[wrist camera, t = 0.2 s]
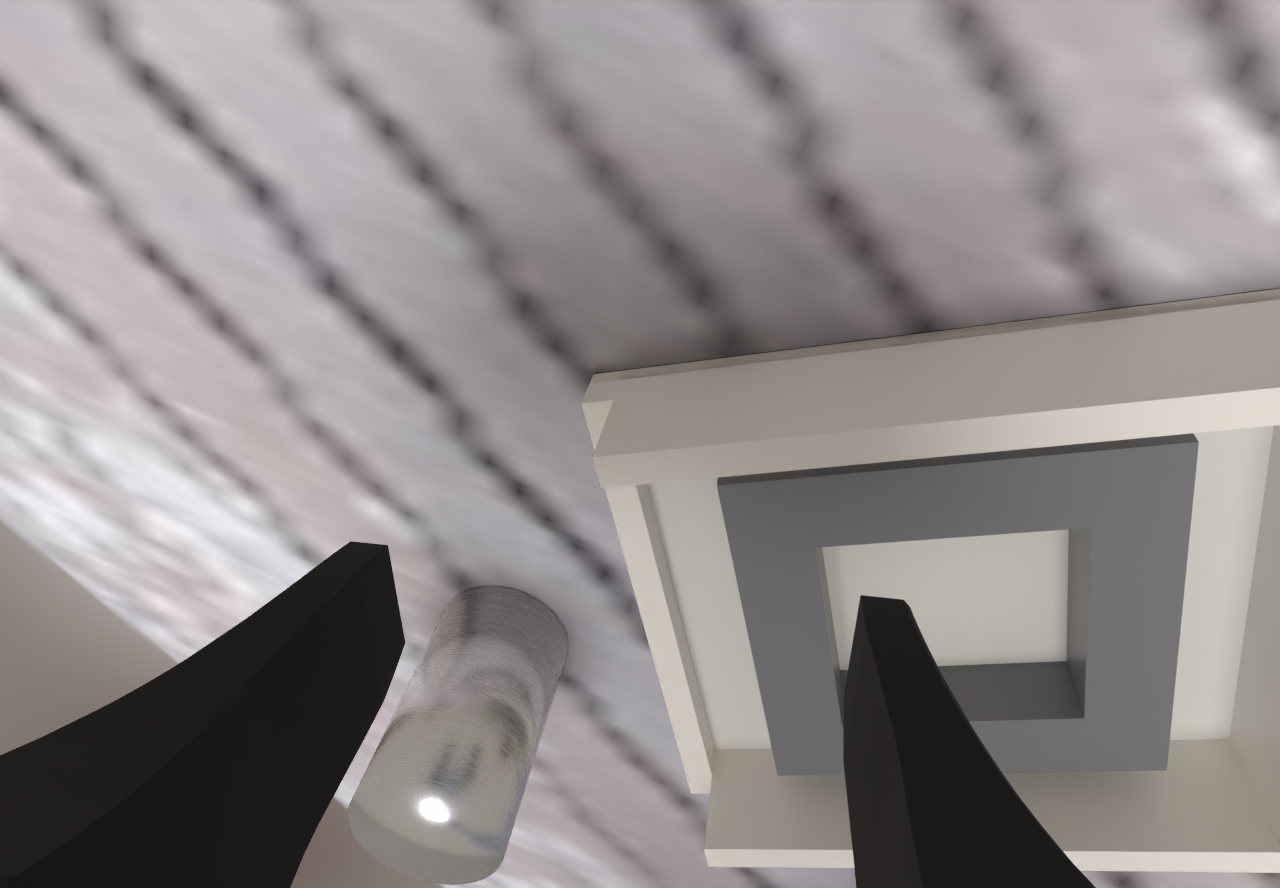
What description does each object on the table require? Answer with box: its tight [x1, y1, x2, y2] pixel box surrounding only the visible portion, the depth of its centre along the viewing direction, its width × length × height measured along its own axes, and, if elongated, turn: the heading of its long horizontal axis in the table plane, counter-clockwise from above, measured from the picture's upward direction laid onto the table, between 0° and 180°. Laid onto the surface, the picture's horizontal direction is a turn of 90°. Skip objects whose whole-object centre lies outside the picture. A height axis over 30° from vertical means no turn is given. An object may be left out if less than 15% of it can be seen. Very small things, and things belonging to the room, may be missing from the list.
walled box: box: [581, 289, 1280, 873], centre depth 23 cm, size 14×16×4 cm
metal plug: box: [348, 586, 568, 885], centre depth 26 cm, size 4×4×7 cm
